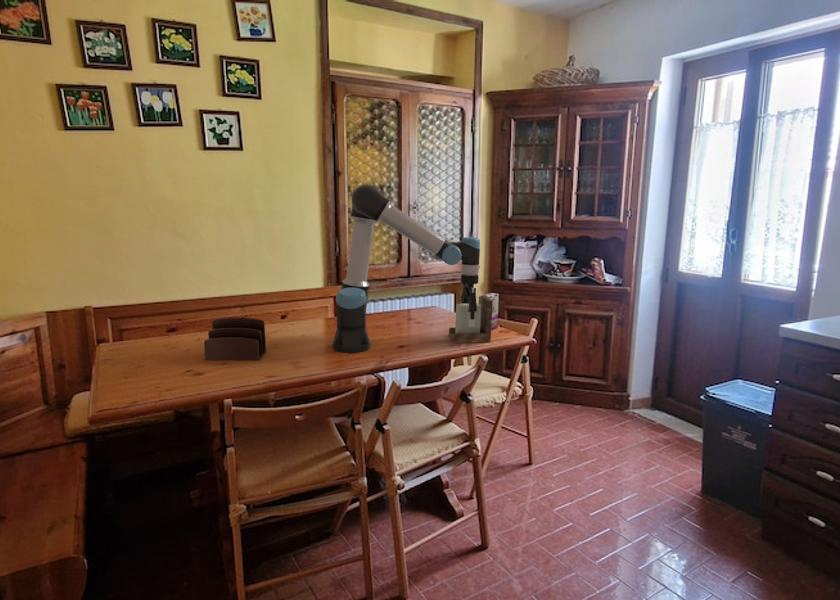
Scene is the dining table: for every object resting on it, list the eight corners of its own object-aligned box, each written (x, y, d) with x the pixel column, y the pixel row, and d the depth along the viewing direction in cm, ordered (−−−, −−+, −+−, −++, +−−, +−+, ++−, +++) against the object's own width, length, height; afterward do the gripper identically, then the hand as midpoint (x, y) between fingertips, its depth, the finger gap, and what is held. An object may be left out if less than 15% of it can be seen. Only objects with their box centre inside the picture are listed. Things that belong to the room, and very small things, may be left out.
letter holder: (214, 352, 196) (212, 316, 193) (266, 352, 196) (265, 317, 194) (204, 360, 186) (202, 323, 183) (259, 361, 187) (257, 323, 184)
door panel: (457, 337, 218) (458, 305, 215) (455, 334, 222) (456, 303, 220) (479, 337, 220) (481, 305, 217) (477, 334, 224) (478, 303, 221)
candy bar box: (488, 326, 243) (490, 292, 240) (497, 327, 240) (499, 293, 237) (476, 330, 235) (478, 295, 231) (486, 332, 232) (487, 297, 228)
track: (453, 342, 215) (455, 300, 211) (449, 335, 226) (450, 295, 222) (490, 341, 217) (492, 300, 213) (484, 334, 228) (486, 295, 224)
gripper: (485, 278, 204) (483, 329, 208) (471, 269, 228) (469, 315, 232) (467, 278, 203) (465, 330, 207) (455, 269, 227) (453, 315, 231)
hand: (467, 322), depth 220 cm, fingers open, 13 cm apart
